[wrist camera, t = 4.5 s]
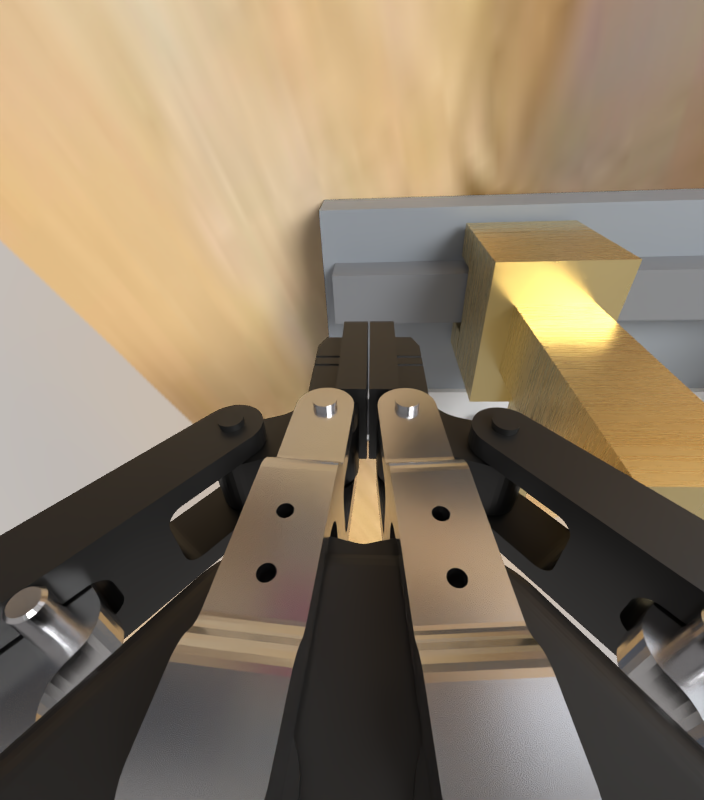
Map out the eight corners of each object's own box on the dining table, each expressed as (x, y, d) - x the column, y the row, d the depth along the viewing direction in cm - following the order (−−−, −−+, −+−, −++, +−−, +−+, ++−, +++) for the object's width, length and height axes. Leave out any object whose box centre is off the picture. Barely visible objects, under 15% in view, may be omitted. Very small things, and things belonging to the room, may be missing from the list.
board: (324, 199, 16) (314, 220, 14) (997, 179, 15) (1138, 197, 12) (339, 417, 24) (335, 459, 21) (793, 418, 22) (853, 463, 20)
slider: (466, 222, 15) (618, 425, 6) (576, 220, 14) (923, 426, 5) (439, 424, 21) (490, 678, 12) (516, 425, 20) (629, 683, 11)
